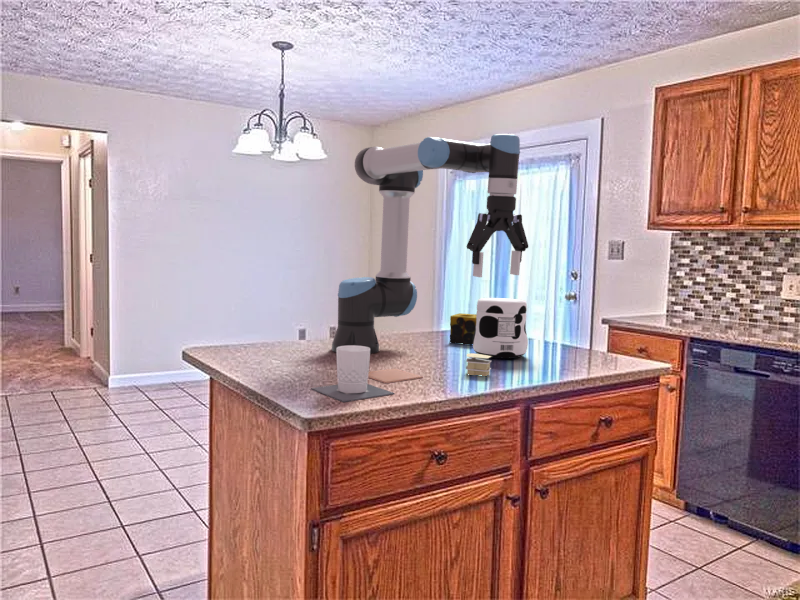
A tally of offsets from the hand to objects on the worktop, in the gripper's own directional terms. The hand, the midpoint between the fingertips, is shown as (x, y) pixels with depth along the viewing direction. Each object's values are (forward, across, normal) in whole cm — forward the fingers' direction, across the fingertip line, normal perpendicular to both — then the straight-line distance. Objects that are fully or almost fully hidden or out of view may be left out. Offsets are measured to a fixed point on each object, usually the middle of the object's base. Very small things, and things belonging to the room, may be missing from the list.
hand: (496, 275), depth 166 cm
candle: (+31, +30, +44) cm, 61 cm away
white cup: (+26, -44, 0) cm, 51 cm away
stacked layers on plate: (+28, -4, +1) cm, 28 cm away
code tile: (+26, -44, 0) cm, 51 cm away
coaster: (+27, -26, +10) cm, 39 cm away
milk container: (+29, +21, +18) cm, 40 cm away
